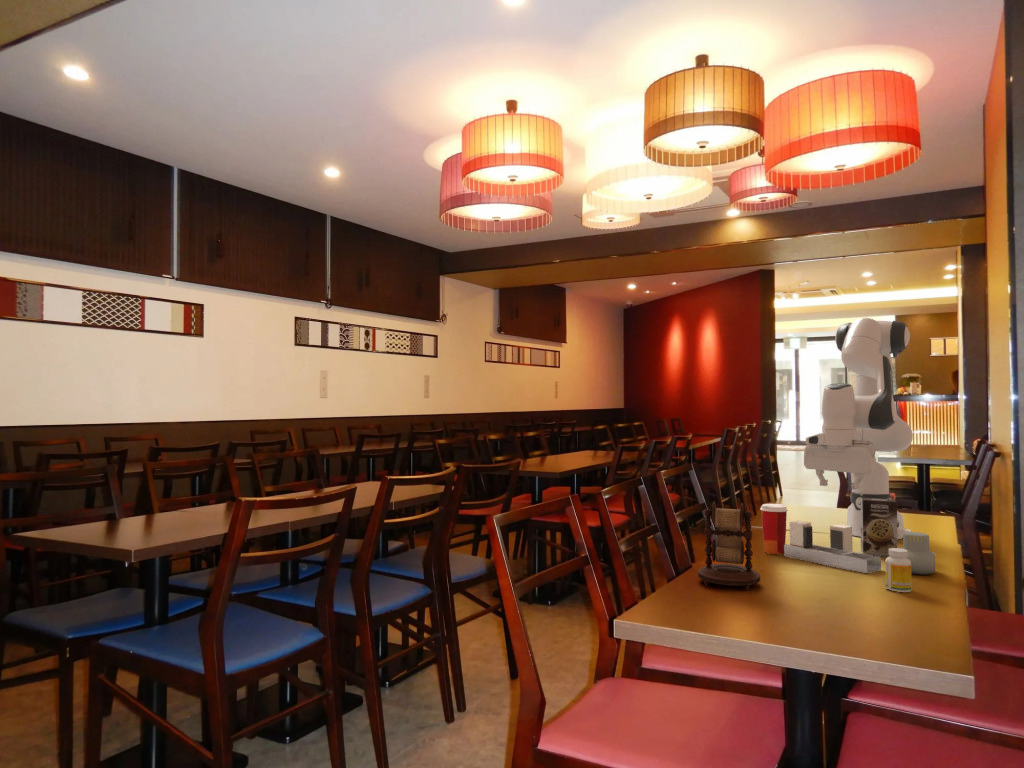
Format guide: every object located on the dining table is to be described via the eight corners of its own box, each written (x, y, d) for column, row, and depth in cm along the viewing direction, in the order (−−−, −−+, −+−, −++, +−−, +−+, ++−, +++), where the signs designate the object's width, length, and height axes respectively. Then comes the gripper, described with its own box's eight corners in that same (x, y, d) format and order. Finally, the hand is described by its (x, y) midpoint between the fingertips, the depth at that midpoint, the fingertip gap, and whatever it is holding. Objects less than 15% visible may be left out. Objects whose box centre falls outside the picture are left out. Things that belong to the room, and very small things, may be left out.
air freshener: (899, 565, 183) (898, 529, 184) (934, 569, 179) (934, 531, 179) (898, 574, 174) (897, 535, 174) (935, 578, 170) (935, 539, 170)
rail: (798, 553, 198) (798, 519, 198) (881, 570, 178) (880, 532, 179) (784, 556, 194) (783, 522, 195) (867, 574, 174) (866, 535, 175)
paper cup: (783, 549, 203) (783, 503, 204) (791, 555, 196) (791, 507, 196) (757, 549, 204) (756, 503, 204) (764, 555, 196) (763, 507, 197)
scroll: (762, 579, 170) (761, 500, 171) (758, 594, 157) (756, 508, 157) (702, 573, 176) (701, 497, 177) (693, 587, 163) (692, 504, 163)
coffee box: (862, 555, 196) (861, 499, 196) (860, 550, 202) (859, 496, 202) (898, 557, 192) (897, 501, 193) (895, 553, 198) (894, 498, 199)
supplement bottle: (880, 588, 162) (879, 547, 162) (898, 586, 163) (898, 546, 163) (898, 594, 156) (897, 552, 157) (917, 592, 158) (916, 551, 158)
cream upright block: (838, 555, 196) (838, 524, 196) (852, 558, 192) (852, 526, 193) (829, 557, 193) (828, 526, 194) (843, 560, 190) (842, 528, 190)
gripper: (880, 440, 187) (881, 490, 187) (812, 437, 204) (812, 483, 204) (869, 441, 184) (869, 491, 183) (800, 438, 201) (800, 484, 200)
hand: (839, 487), depth 194 cm, fingers open, 8 cm apart
